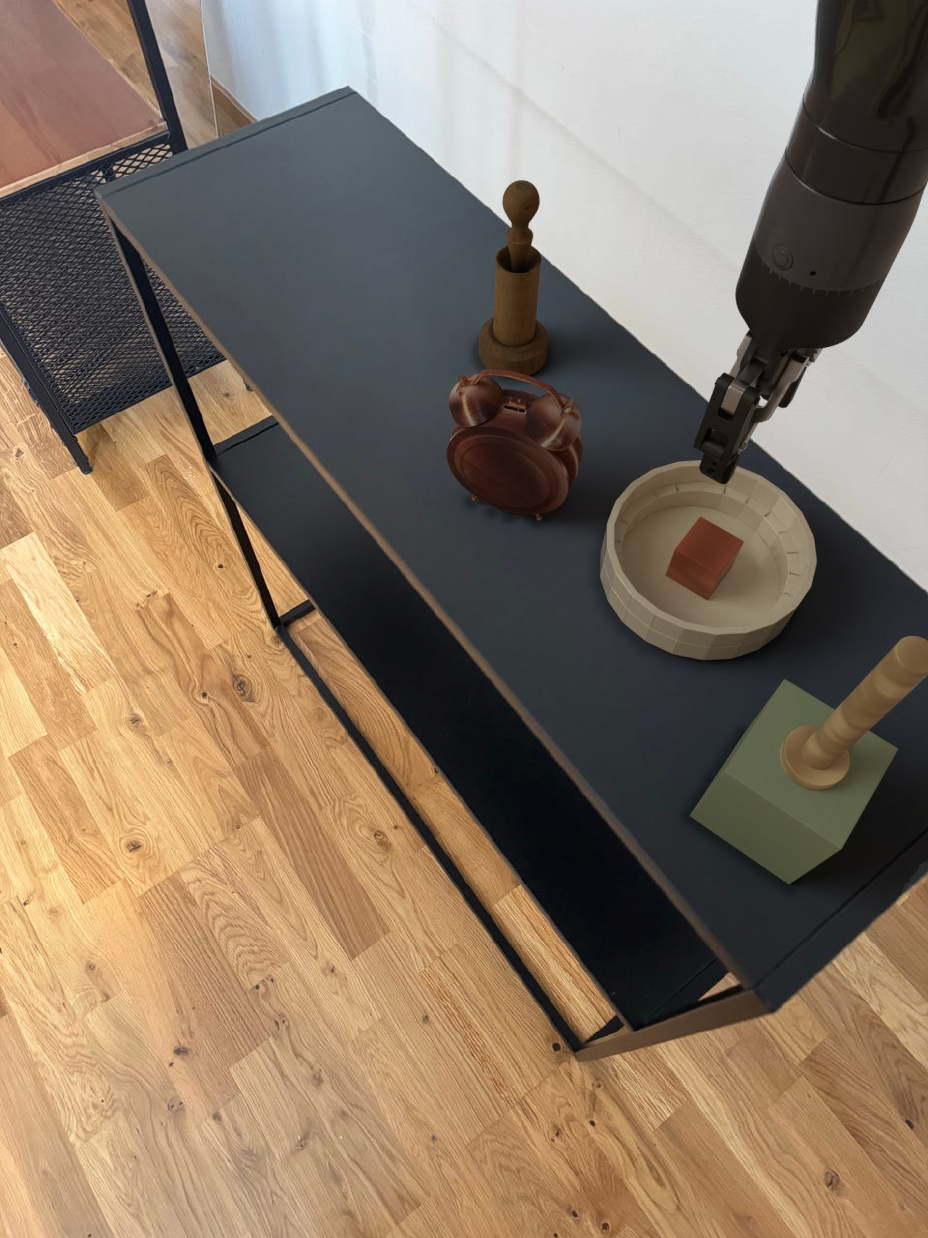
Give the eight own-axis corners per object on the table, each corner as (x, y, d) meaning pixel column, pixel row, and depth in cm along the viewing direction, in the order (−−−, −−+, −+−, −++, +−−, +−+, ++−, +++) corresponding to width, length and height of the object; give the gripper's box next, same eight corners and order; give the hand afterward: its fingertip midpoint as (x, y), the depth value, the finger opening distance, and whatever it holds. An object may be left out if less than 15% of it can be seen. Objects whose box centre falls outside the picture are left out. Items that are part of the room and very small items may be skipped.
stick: (855, 754, 56) (974, 647, 42) (826, 803, 54) (940, 708, 41) (798, 718, 57) (896, 602, 44) (768, 765, 55) (860, 661, 42)
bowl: (830, 559, 74) (852, 525, 70) (733, 701, 68) (751, 674, 64) (664, 466, 79) (676, 429, 75) (560, 591, 73) (566, 559, 69)
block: (731, 567, 73) (744, 540, 70) (707, 601, 72) (719, 575, 68) (689, 543, 74) (700, 515, 71) (664, 575, 73) (674, 548, 69)
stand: (840, 796, 64) (898, 748, 56) (788, 885, 62) (841, 849, 53) (743, 733, 67) (784, 678, 58) (689, 816, 64) (723, 771, 55)
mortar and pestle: (559, 346, 86) (578, 177, 70) (525, 389, 84) (537, 223, 68) (500, 320, 88) (507, 150, 72) (466, 361, 85) (464, 193, 69)
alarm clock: (578, 494, 78) (599, 371, 64) (561, 537, 75) (580, 419, 62) (462, 460, 80) (460, 333, 66) (442, 501, 77) (436, 378, 64)
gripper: (828, 345, 44) (742, 531, 58) (946, 196, 49) (840, 400, 63) (697, 282, 46) (645, 475, 60) (822, 146, 51) (747, 353, 66)
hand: (745, 436), depth 62 cm, fingers open, 8 cm apart
